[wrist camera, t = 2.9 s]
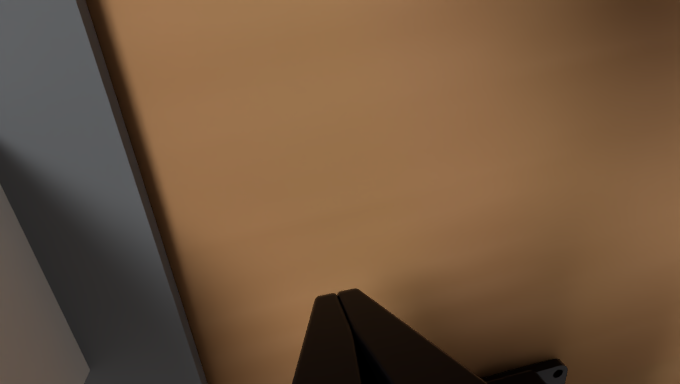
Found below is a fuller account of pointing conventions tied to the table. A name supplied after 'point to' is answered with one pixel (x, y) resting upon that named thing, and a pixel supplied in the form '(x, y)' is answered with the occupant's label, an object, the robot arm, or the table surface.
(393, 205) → the table surface
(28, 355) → the tile
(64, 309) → the mat
